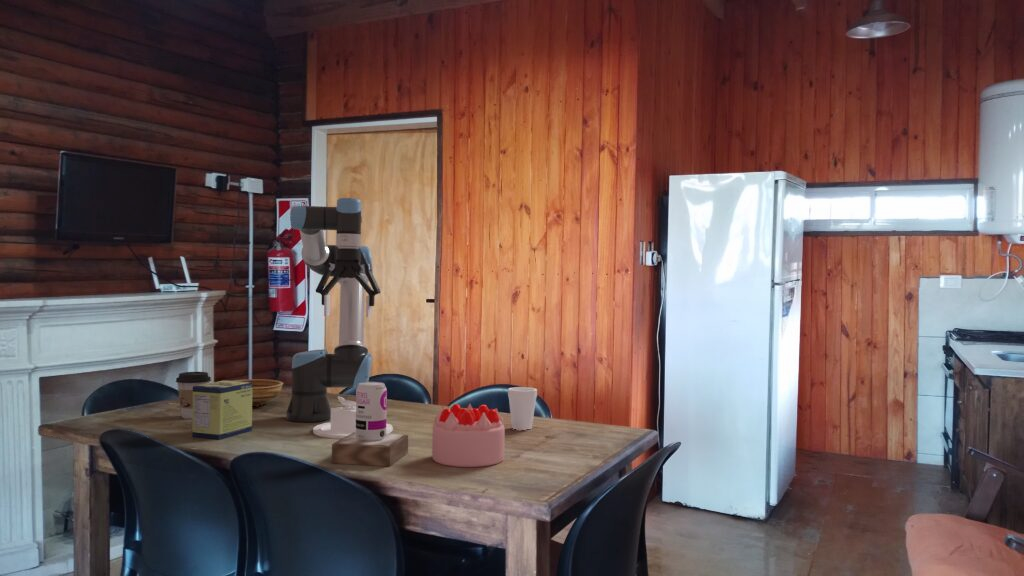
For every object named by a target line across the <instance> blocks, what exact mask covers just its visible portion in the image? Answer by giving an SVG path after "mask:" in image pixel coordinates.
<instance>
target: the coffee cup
mask: <svg viewBox="0 0 1024 576" xmlns="http://www.w3.org/2000/svg"><path fill="white" fill-rule="evenodd" d="M175 379H176V380H175V383H177V391H178V398H179V405H180V406H179V407H180V415H181V418H182V419H186V420H191V419H193V386H196V385H202V384H208V383H211V381H212V379H211V376H209V372H207V371H185V372H179V373H178V377H176V378H175Z"/></svg>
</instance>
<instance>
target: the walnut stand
mask: <svg viewBox="0 0 1024 576" xmlns="http://www.w3.org/2000/svg"><path fill="white" fill-rule="evenodd" d="M408 453H409V435H408V434H394V433H389V434H386V436H385V437H384V439H382V440H378V441H362V440H359V439H358V438H357V437H356V432H354V433H352V434H350V435H348V436H346V437H344V438H343V439H339V440H337V441H335V442H334V443H331V464H340V465H342V464H343V465H355V466H357V465H361V466H373V467H374V466H376V467H378V466H379V467H391V466H393V465H394V464H395V463H396V462H398V461H400V460H401V459H402V458H403V457H405V456H406V455H407V454H408Z"/></svg>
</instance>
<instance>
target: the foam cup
mask: <svg viewBox="0 0 1024 576" xmlns="http://www.w3.org/2000/svg"><path fill="white" fill-rule="evenodd" d="M507 396H508V400H509V401H508V402H509V413H510V420H511V429H512V428H513V429H512V430H514V429H516V430H515V431H521V430H525V431H527V430H526V429H531V428H532V427H533V423H534V415H535V409H536V402H537V397H538V388H534V387H530V386H529V387H525V386H517V387H516V386H514V387H509V388H508V389H507ZM531 430H532V429H531Z"/></svg>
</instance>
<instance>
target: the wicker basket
mask: <svg viewBox="0 0 1024 576" xmlns="http://www.w3.org/2000/svg"><path fill="white" fill-rule="evenodd" d="M232 381H243V382H253V383H252V406H256V407H260V406H259V405H262V406H264V405H263V404H265V405H266V403H267V402H268V401H270V400H272V399H275V398H277V396H278V395H280V393H281V392H282V389H283V386H284V382H282V381H280V380H274V379H266V378H265V379H261V378H260V379H259V378H258V379H257V378H255V379H254V378H253V379H250V378H249V379H235V380H232Z"/></svg>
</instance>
